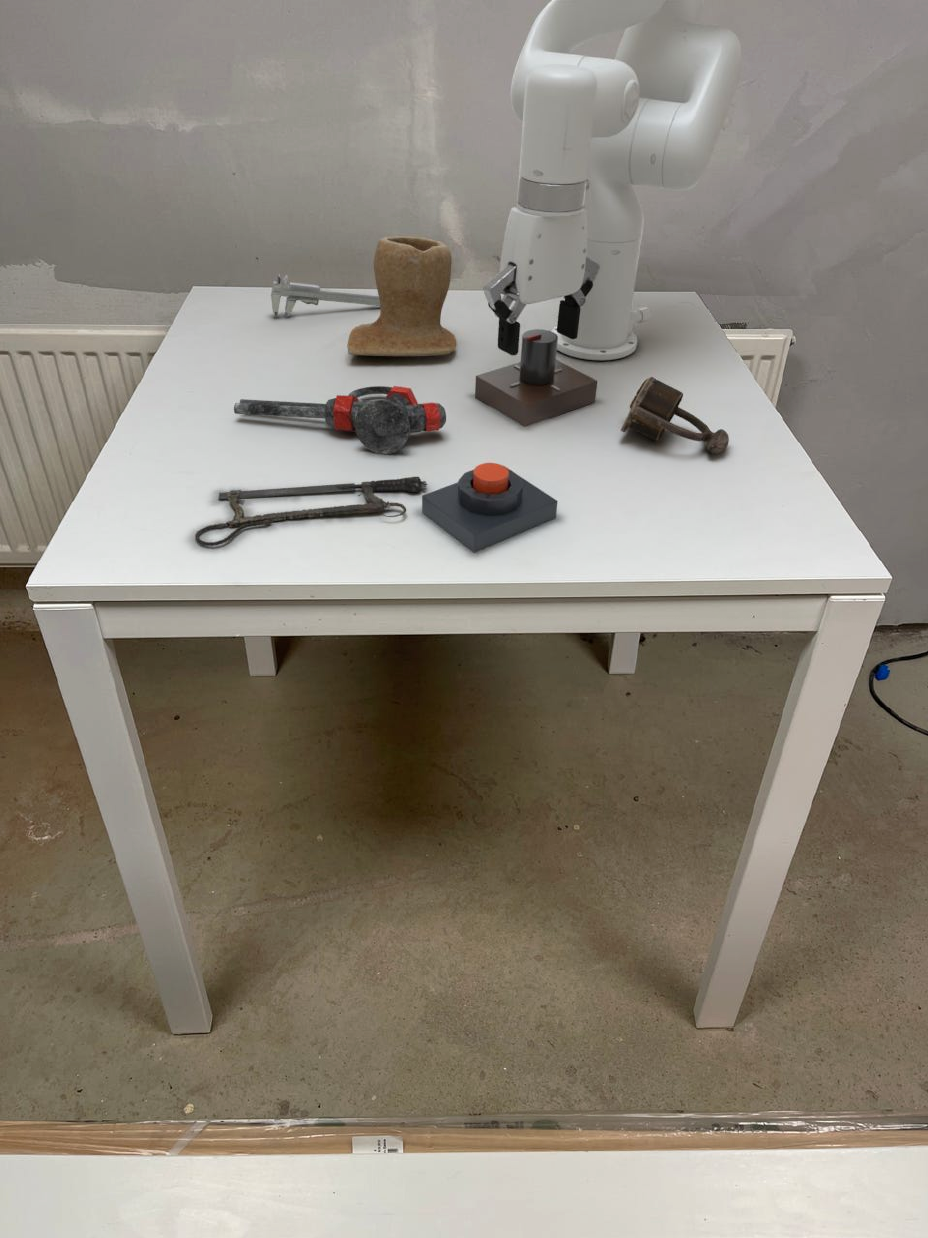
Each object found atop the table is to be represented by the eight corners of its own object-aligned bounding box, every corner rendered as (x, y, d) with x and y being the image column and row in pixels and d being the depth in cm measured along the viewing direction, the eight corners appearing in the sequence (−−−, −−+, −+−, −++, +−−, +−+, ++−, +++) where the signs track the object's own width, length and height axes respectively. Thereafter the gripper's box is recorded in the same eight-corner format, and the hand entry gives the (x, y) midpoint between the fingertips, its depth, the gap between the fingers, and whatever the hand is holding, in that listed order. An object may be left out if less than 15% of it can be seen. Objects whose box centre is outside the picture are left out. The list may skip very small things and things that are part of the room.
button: (493, 473, 95) (493, 459, 93) (514, 488, 92) (516, 473, 91) (466, 484, 93) (466, 469, 92) (487, 499, 91) (488, 484, 90)
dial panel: (544, 374, 122) (546, 352, 120) (595, 402, 116) (598, 379, 114) (474, 397, 116) (475, 374, 114) (524, 427, 110) (526, 403, 108)
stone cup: (453, 332, 133) (455, 225, 123) (458, 365, 124) (461, 253, 114) (350, 332, 132) (344, 225, 122) (347, 366, 123) (341, 253, 113)
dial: (538, 367, 117) (541, 323, 113) (561, 379, 114) (565, 335, 110) (512, 375, 115) (515, 331, 111) (534, 388, 112) (538, 343, 108)
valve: (460, 418, 116) (437, 459, 103) (268, 406, 119) (223, 444, 107) (460, 369, 112) (437, 405, 100) (263, 358, 116) (216, 391, 103)
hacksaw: (426, 484, 99) (426, 472, 99) (435, 536, 92) (435, 524, 91) (203, 494, 97) (201, 482, 96) (193, 549, 89) (191, 536, 88)
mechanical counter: (660, 368, 112) (612, 373, 105) (751, 393, 104) (706, 400, 98) (648, 425, 115) (601, 433, 108) (735, 453, 107) (691, 464, 101)
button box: (502, 482, 100) (504, 450, 98) (556, 518, 95) (559, 485, 92) (421, 513, 95) (421, 480, 92) (474, 553, 90) (475, 519, 87)
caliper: (274, 319, 135) (269, 276, 131) (273, 316, 136) (268, 274, 132) (405, 306, 140) (404, 265, 136) (403, 304, 141) (402, 263, 137)
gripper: (584, 178, 107) (568, 320, 117) (469, 196, 98) (463, 347, 109) (629, 192, 102) (608, 339, 113) (513, 212, 94) (503, 369, 104)
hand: (537, 343), depth 111 cm, fingers open, 9 cm apart
